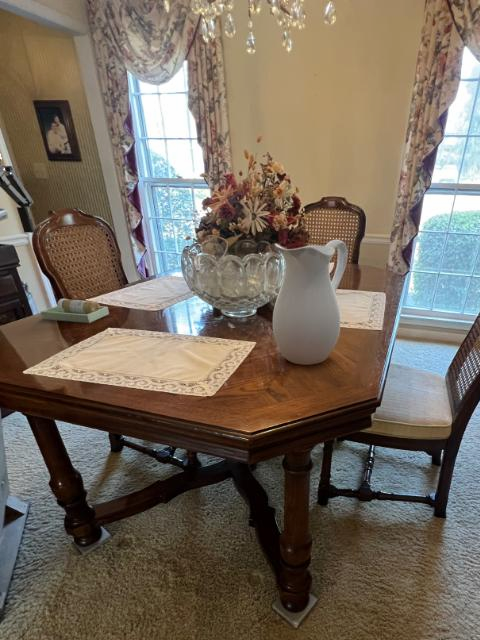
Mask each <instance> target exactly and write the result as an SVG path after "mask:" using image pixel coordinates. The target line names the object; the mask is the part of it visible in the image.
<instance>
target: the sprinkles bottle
mask: <svg viewBox="0 0 480 640" xmlns="http://www.w3.org/2000/svg"><path fill="white" fill-rule="evenodd" d="M57 306H58V308H59V310H60V311H61V312H65V313H69V312H71V313H79V314H89V313H92V312H94V311H97V310H99V309H100V306H101V305H100V304H99V302H98V301H88V300H82V299H81V300H79V299H68V298H60V299H59V300H58V302H57Z"/></svg>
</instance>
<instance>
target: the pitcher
mask: <svg viewBox="0 0 480 640" xmlns="http://www.w3.org/2000/svg"><path fill="white" fill-rule="evenodd" d="M274 246H275V248H276V250H278V251H279V252H280V253H279V254H280V255H281V256H282V257H283V259H284V264H285V269H284V277H283V279H282V283H281V285H280V288H279V291H278V294H277V297H276V300H275V304H274V306H273V307H274V308H273V312H272V331H273V336H274V341H275V343H276V347H277V348H278V350H279V351H280V353H281V354H282V356H283V357H284V358H285V360H286V361H288V362H290V363H292V364H296V365H303V366H308V365H309V366H310V365H317V364H320V363H322V362H325V361H326V360H327V359H328V357H329V356H330V355H331V354H332V352H333V350H334V349H335V347H336V345H337V342H338V339H339V337H340V331H341V324H342V323H341V320H342V317H341V309H340V305H339V301H338V297H337V294H336V292H337V290H338V287H339V285H340V282H341V280H342V278H343V275H344V273H345V270H346V267H347V262H348V257H349V251H348V245H347V244H346V243H345V242H344V241H343V240H340V239H333V240H330V241H328V242H327V243H326V244H325V245H319V244H318V245H317V244H311V245H306V246H302V247H298V248H297V247H296V248H284V247H282V246H280V245H279V244H278V243H274ZM336 250H337V262H336V268H335V271H334V275H333V277H332V278H331V275H330V262H331V260H332V258H333V257H334V255H335V253H336Z"/></svg>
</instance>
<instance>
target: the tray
mask: <svg viewBox="0 0 480 640" xmlns="http://www.w3.org/2000/svg"><path fill="white" fill-rule="evenodd" d="M40 315H41V317H42V320H50V321H60V322H61V321H62V322H63V321H64V322H73V323H74V322H75V323H86V324H90V323H93V322H95V321H96V320H99V319H101V318H103V317H106V316H109V315H110V311H109V307H108V306H102V305H100V309H99V310H97V311H94V312H92V313H89V314H79V313H71V312H69V313H65V312H61V311H60V310H59V308H58V305H55V306H52V307H49V308H47V309H44V310H41V311H40Z"/></svg>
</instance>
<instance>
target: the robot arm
mask: <svg viewBox="0 0 480 640" xmlns="http://www.w3.org/2000/svg"><path fill="white" fill-rule="evenodd" d="M2 159H3V158H2V155H1V154H0V188H1V189H2V190H3V191H4V192H5V193H6V194H7V195H8V197H10V198H11V200H13V201H14V203H16V204H17V206H16V209H17V213H18V217H19V219H20V223H21V227H22V230H23V232H24V233H30V234H31V233H32V234H33V233H35V229H34V226H33V223H32V214H31V211H30V208H31V207H32V205H34V200H33V198H32V197H31V195H30V194H29V193H28V191H27V190H26V188H25V186H24V185H23V183H22V182H21V180H20V179H19V178H18V176H17V173H16V171H15V168H14V167H13V166H12V165H2V163H1V161H2Z"/></svg>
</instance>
